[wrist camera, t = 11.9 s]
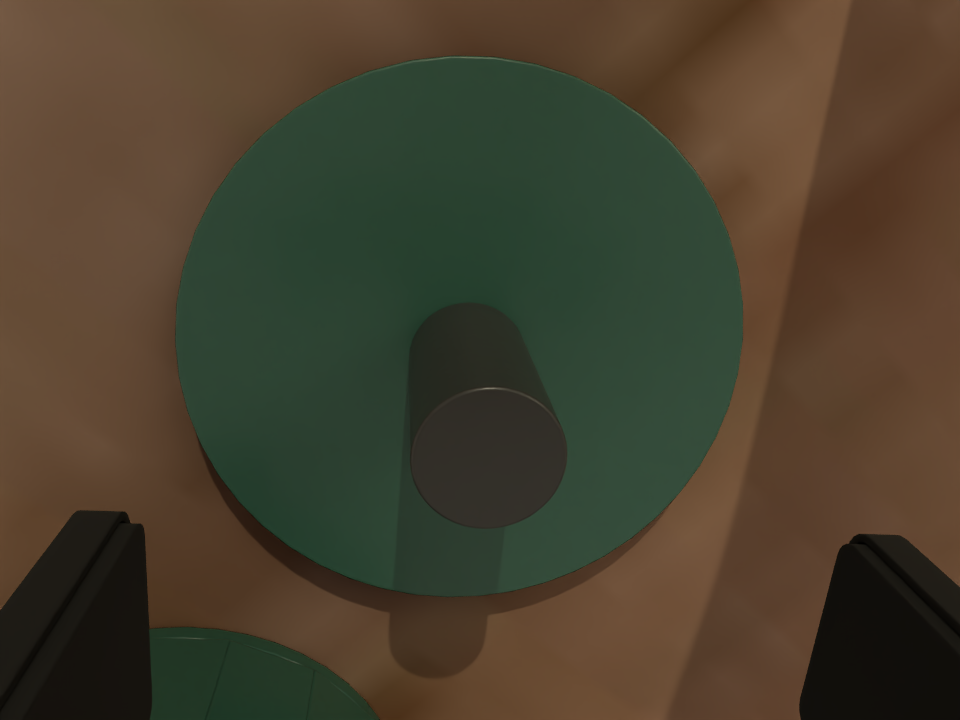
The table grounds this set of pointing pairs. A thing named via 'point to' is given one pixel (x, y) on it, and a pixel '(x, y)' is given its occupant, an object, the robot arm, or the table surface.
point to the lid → (459, 326)
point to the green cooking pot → (243, 680)
